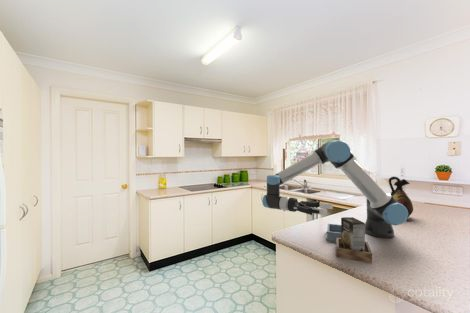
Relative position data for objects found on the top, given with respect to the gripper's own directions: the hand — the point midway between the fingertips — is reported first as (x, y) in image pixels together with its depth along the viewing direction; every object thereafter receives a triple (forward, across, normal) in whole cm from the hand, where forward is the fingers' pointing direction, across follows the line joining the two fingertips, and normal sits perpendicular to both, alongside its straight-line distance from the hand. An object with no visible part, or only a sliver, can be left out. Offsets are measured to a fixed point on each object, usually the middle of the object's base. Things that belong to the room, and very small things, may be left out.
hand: (329, 209), depth 108 cm
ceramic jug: (+31, -82, -19) cm, 90 cm away
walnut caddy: (+10, 0, -20) cm, 22 cm away
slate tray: (+3, -18, -20) cm, 27 cm away
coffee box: (+10, 0, -20) cm, 22 cm away
